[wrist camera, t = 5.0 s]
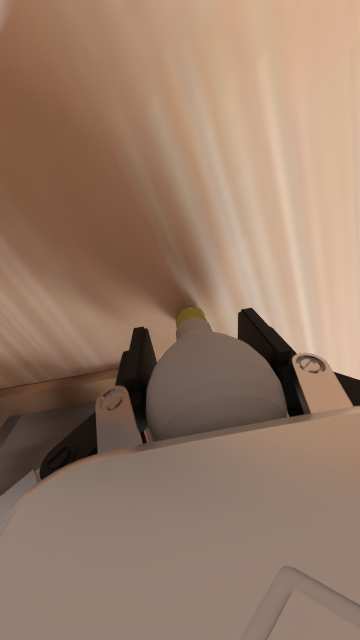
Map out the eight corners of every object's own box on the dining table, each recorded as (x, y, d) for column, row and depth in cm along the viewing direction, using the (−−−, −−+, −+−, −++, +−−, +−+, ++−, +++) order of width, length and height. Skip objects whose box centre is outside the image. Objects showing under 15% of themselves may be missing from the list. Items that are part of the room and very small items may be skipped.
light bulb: (136, 313, 14) (96, 493, 5) (195, 263, 12) (283, 395, 4) (183, 355, 16) (211, 524, 7) (238, 317, 15) (350, 473, 6)
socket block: (136, 365, 16) (123, 459, 10) (165, 446, 23) (168, 529, 17) (-27, 394, 16) (-139, 506, 10) (53, 467, 23) (17, 557, 17)
